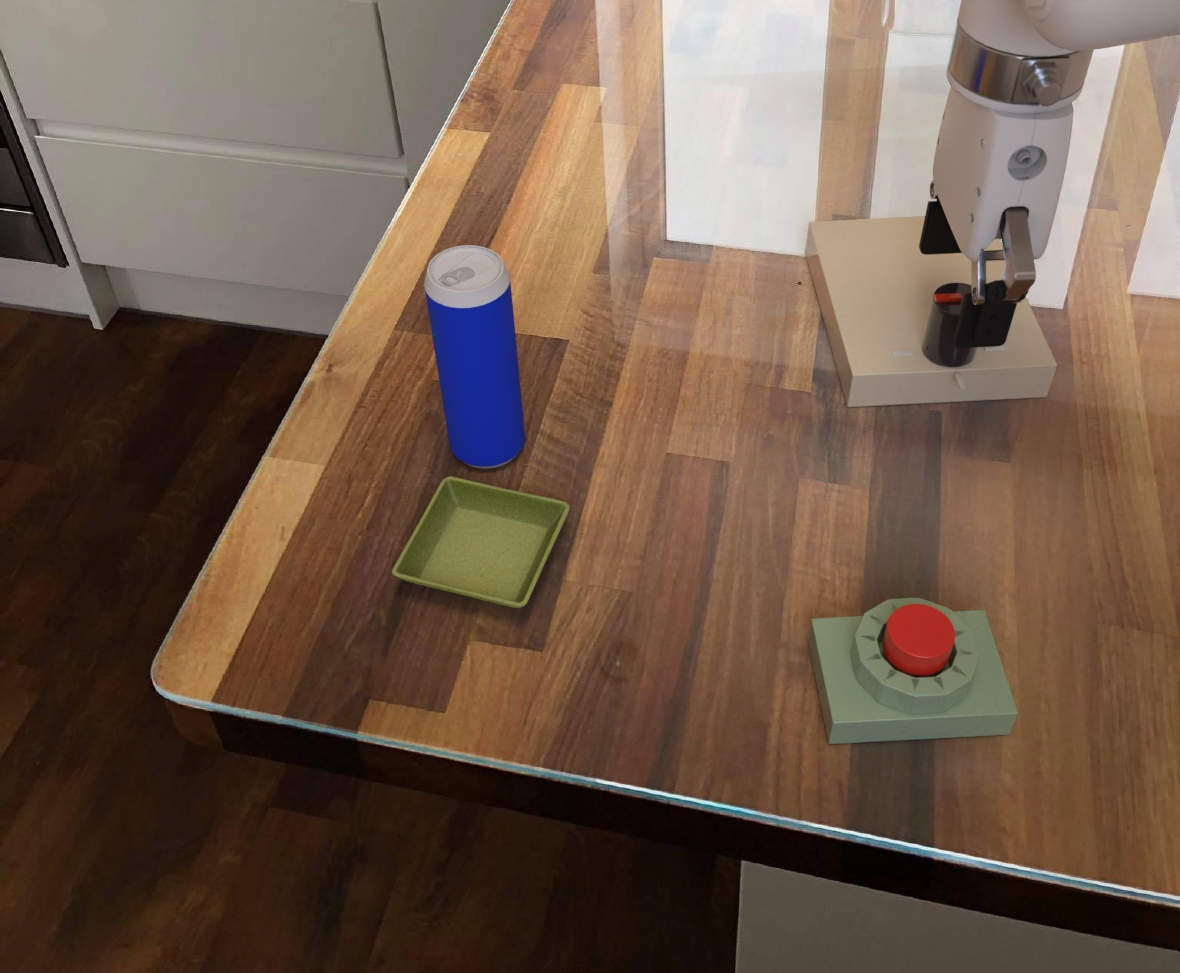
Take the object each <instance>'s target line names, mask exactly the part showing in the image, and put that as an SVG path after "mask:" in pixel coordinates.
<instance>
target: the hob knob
mask: <svg viewBox="0 0 1180 973" xmlns="http://www.w3.org/2000/svg"><path fill="white" fill-rule="evenodd" d="M969 293H972V285H970V284H966V283H948V284H944V285H942V286H940V287H939V288H937V290H936V291H935V292H934V294H933V299H932V303H931V308H930V312H929V317H928V321H927V326H926V330H925V335H924V339H923V344H922V350H923V353H924V355H925V356H926V357H927V358H928V359H929V360H930V361H932V362H933V363H935V364H938V365H940V366H944V367H961V366H964V365H967V364H968V363H970V362H971V361H972V360H973V359H974V357H975V354H976V350H977V347H975V348H957V347H956V345H955V342H954V335H955V331H956V327H957V323H958V319H959V315H960V312H961V308H962V304H963V300H964V296H965V294H969Z"/></svg>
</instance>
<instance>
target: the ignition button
mask: <svg viewBox="0 0 1180 973" xmlns="http://www.w3.org/2000/svg"><path fill="white" fill-rule="evenodd" d="M954 641H955V630H954V627H953V625H952V623H951V621H950V620H949V618H948V617H947V616H946V615H945V614H943V613H942V612H941V611H939V610H937V609H935V608H933V607H931V606H928V605H923V604H909V605H905V606H902V607H900V608H898V609H897V610H895V611H894V612H893V613H892V614H891V615H890V617H889V619H888V622H887V626H886V630H885V634H884V638H883V651H884V654H885V656H886V657H887V659H888V660H889V662H890V663H891V664H892V665H893V666H894V667H896V668H897V669H899V670H900V671H902V672H905V673H907V674H910V675H916V676H927V675H931V674H934V673H936V672H938V671H940V670H941V669H943V668H944V667H945V665H946V664H947V662H948V660H949V657H950V654H951V651H952V648H953V645H954Z"/></svg>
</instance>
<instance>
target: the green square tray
mask: <svg viewBox="0 0 1180 973" xmlns="http://www.w3.org/2000/svg"><path fill="white" fill-rule="evenodd" d="M570 510H571V506H570V504H569V503H568V502H566V501H564V500H560V499H556V498H552V497H548V496H547V497H546V496H542V495H537V494H533V493H527V492H524V491H518V490H513V489H509V488H505V487H499V486H497V485H491V484H487V483H483V482H478V481H473V480H469V479H465V478H460V477H456V476H452V475H451V476H447V477H444V478H443V479H442V480H441V482H440V483H439V485H438V486H437V488H436V491H435V492H434V494H433V496H432V498H431V499H430V502H429V503H428V505H427V507H426V509H425V511H424V513H423V514H422V516H421V518H420V520H419V521H418V524H417V525H416V527H415V528H414V530H413V531H412V534H411V535H410V538H408V541H407V542H406V544H405V546H404V548H403V550H402V552H401V553H400V555H399V557H398V559H397V560H396V562H395V564H394V566H393V567H392V570H391V574H392V575H393V576H394V577H396V578H398V579H400V580H402V581H404V582H407V583H408V582H409V583H412V584H416V585H420V586H422V587H423V586H425V587H427V588H432V589H437V590H441V591H444V592H449V593H452V594H456V595H461V596H464V597H469V598H472V599H477V600H480V601H485V602H489V603H492V604H496V605H501V606H505V607H507V608H513V609H520V608H523V607H525V606H526V605H527V604H528V602H529V600H530V598H531V596H532V593H533V591H534V589H535V586H536V584H537V582H538V580H539V578H540V576H541V574H542V572H543V569H544V567H545V564H546V562H547V560H548V558H549V556H550V553H551V551H552V549H553V547H554V545H555V542H556V541H557V538H558V536H559V534H560V531H561V529H562V528H563V525H564V522H565V521H566V518H567V516H568V514H569V511H570Z"/></svg>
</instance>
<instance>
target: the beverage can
mask: <svg viewBox="0 0 1180 973" xmlns="http://www.w3.org/2000/svg"><path fill="white" fill-rule="evenodd" d="M423 286H424V293H425V300H426V305H427V312H428V317H429V324H430V331H431V336H432V343H433V350H434V356H435V357H434V358H435V362H436V369H437V374H438V382H439V387H440V394H441V400H442V407H443V412H444V418H445V425H446V431H447V438H448V443H449V449H450V451H451V453H452V454H453V455H454V457H456V459H458V460H460V461H461V462H462V463H464V464H465V465H467V466H469V467H472V468H476V469H482V470H488V469H489V470H490V469H495V468H499V467H502V466H504V465H507V464H508V463H510V462H511V461H512V460H513V459H515V457H517V455H519V453H520V452H521V451H522V450H523V447H524V445H525V442H526V432H525V421H524V411H523V410H524V409H523V400H522V388H521V380H520V379H521V376H520V367H519V357H518V348H517V336H516V324H515V315H514V304H513V293H512V283H511V275H510V272H509V270H508V268H507V266H506V264H505V262H504V260H503V259H502V257H501V256H500V255H499V254H498V253H497V252H496V251H494V250H492V249H491V248H488V247H484V246H481V245H475V244H474V245H473V244H464V245H463V244H462V245H457V246H452V247H448V248H447V249H443V250H442V251H440V252H438V253H437V254H436V255H434V256H433V257H432V259H430V261H429V262H428V265H427V268H426V273H425V278H424V282H423Z"/></svg>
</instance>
